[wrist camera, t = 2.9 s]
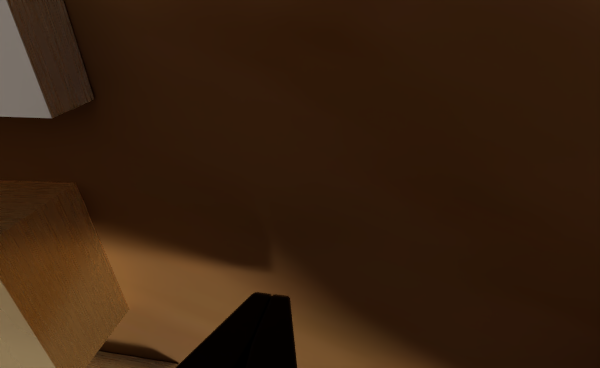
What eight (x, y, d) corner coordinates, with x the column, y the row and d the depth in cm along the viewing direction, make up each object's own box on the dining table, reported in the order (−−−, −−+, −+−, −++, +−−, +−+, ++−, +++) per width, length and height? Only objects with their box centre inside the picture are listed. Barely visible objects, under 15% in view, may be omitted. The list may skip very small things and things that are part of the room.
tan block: (81, 178, 9) (-20, 248, 7) (133, 303, 12) (69, 389, 9) (-57, 174, 10) (-188, 235, 8) (15, 291, 13) (-71, 366, 10)
